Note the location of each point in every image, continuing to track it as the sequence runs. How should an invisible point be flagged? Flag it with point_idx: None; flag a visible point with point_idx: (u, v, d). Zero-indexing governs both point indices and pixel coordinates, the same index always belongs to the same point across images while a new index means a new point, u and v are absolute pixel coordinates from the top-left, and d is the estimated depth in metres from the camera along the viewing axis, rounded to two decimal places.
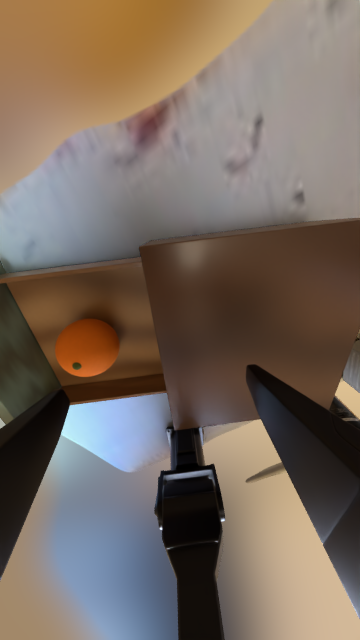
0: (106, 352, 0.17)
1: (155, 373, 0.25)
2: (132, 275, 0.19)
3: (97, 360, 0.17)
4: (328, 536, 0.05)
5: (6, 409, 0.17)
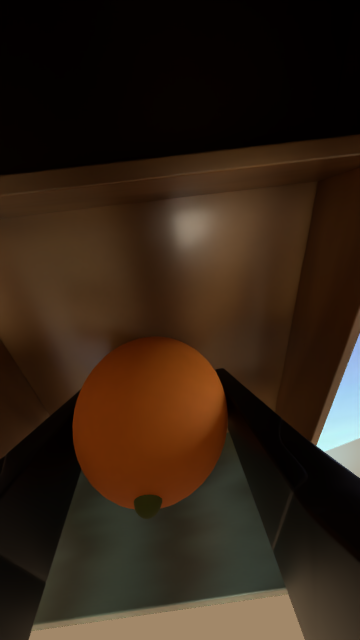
0: (128, 406, 0.05)
1: (305, 241, 0.08)
2: None
3: (140, 446, 0.05)
4: (275, 543, 0.05)
5: (260, 590, 0.08)
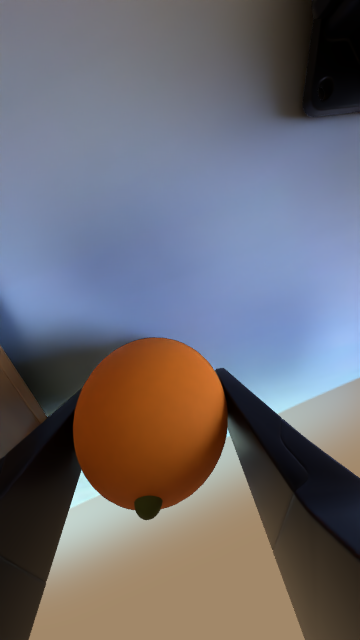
0: (128, 407, 0.05)
1: None
2: None
3: (141, 447, 0.05)
4: (275, 543, 0.05)
5: None
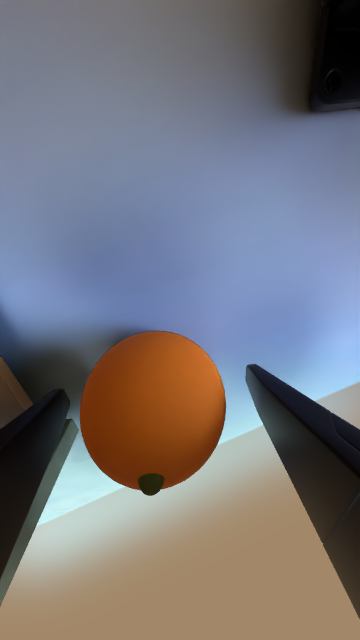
0: (132, 392, 0.05)
1: None
2: None
3: (144, 428, 0.05)
4: (328, 536, 0.05)
5: None
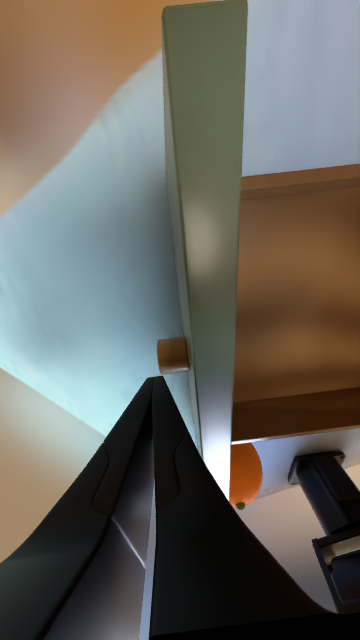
0: (261, 482, 0.17)
1: (353, 387, 0.16)
2: None
3: (256, 494, 0.16)
4: None
5: (227, 475, 0.08)
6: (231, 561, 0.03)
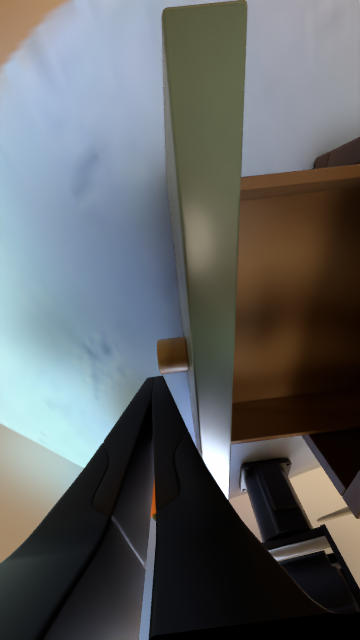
0: None
1: (353, 387, 0.16)
2: None
3: None
4: None
5: (227, 475, 0.08)
6: (231, 561, 0.03)
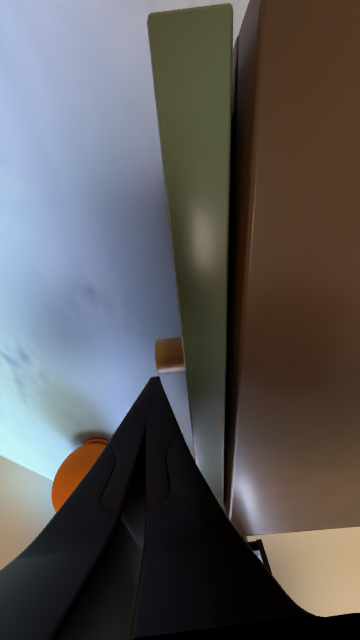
0: None
1: None
2: None
3: None
4: None
5: (221, 477, 0.08)
6: (217, 563, 0.03)
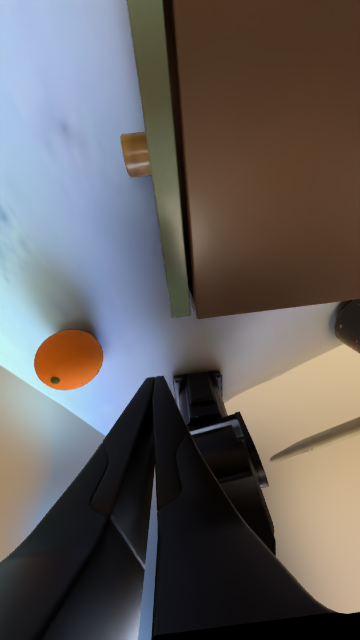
0: (86, 365, 0.17)
1: None
2: None
3: (77, 374, 0.16)
4: None
5: (179, 210, 0.09)
6: (233, 561, 0.03)
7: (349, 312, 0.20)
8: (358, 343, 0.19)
